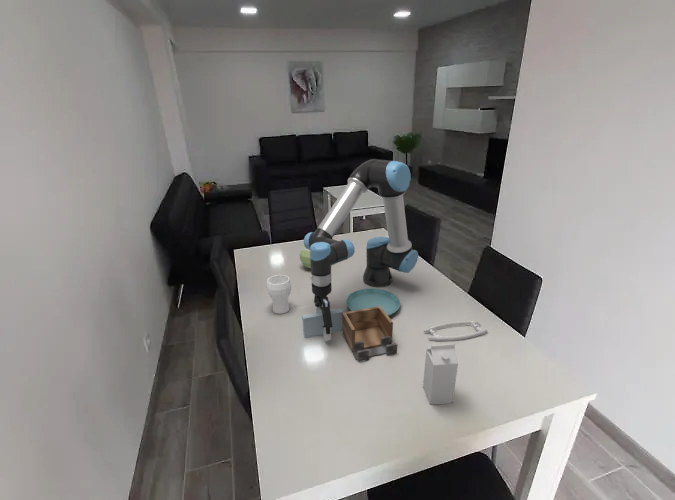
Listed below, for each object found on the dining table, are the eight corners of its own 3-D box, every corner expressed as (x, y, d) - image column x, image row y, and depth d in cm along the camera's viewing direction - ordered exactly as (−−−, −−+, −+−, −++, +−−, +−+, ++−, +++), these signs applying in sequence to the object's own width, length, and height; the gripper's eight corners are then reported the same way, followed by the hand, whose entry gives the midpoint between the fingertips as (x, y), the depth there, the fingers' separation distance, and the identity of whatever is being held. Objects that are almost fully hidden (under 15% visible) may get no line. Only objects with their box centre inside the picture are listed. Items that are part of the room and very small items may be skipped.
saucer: (338, 317, 152) (338, 310, 151) (355, 291, 173) (355, 285, 172) (393, 327, 144) (394, 320, 143) (404, 298, 165) (404, 292, 164)
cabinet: (379, 327, 144) (380, 306, 140) (398, 353, 129) (399, 330, 125) (342, 334, 140) (342, 312, 136) (356, 362, 125) (356, 338, 121)
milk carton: (422, 387, 113) (427, 338, 106) (444, 386, 113) (450, 336, 106) (429, 405, 106) (435, 353, 99) (452, 403, 107) (459, 352, 99)
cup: (288, 316, 153) (285, 286, 147) (265, 314, 155) (262, 284, 149) (296, 304, 162) (293, 275, 157) (274, 302, 164) (271, 273, 159)
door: (341, 327, 145) (341, 308, 141) (343, 330, 142) (343, 311, 139) (303, 334, 141) (302, 315, 137) (304, 338, 138) (303, 318, 135)
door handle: (420, 331, 142) (476, 323, 146) (431, 346, 133) (490, 336, 137) (421, 325, 141) (477, 317, 145) (431, 340, 132) (491, 331, 136)
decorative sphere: (332, 265, 201) (331, 241, 196) (317, 275, 190) (316, 249, 184) (311, 260, 209) (310, 236, 203) (295, 269, 197) (293, 244, 192)
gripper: (305, 270, 143) (307, 315, 151) (319, 299, 121) (321, 350, 129) (323, 268, 145) (324, 312, 153) (340, 296, 123) (341, 346, 131)
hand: (323, 329), depth 141 cm, fingers open, 13 cm apart
